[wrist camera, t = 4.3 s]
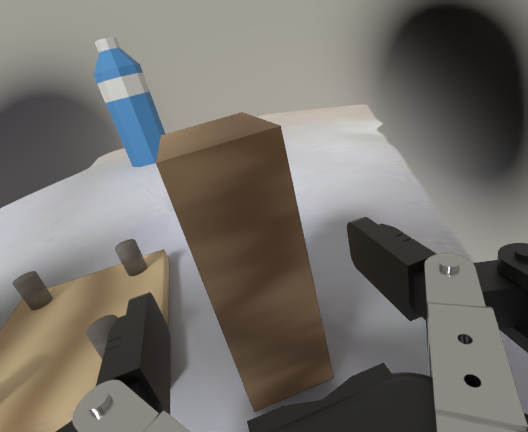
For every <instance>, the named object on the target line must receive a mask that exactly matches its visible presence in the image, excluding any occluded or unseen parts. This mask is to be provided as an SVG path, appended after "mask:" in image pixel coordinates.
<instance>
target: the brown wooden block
mask: <svg viewBox="0 0 528 432" xmlns="http://www.w3.org/2000/svg"><path fill="white" fill-rule="evenodd" d="M156 164H157V167H158V169H159V172H160V174H161V177H162V180H163V182H164V185H165V187H166V190H167V192H168V195H169V197H170V200H171V202H172V205H173V207H174V210H175V212H176V215H177V218H178V220H179V223H180V225H181V228H182V230H183V233H184V235H185V238H186V240H187V243H188V245H189V248H190V250H191V253H192V255H193V258H194V261H195V263H196V266H197V268H198V271H199V273H200V276H201V278H202V281H203V283H204V286H205V288H206V291H207V293H208V296H209V299H210V301H211V304H212V306H213V309H214V311H215V314H216V316H217V319H218V321H219V324H220V326H221V329H222V331H223V334H224V336H225V339H226V342H227V344H228V347H229V349H230V352H231V354H232V357H233V359H234V362H235V364H236V367H237V369H238V372H239V374H240V377H241V380H242V382H243V385H244V387H245V390H246V392H247V395H248V397H249V400H250V402H251V405H252V407H253V410H254V412H255V411H258V410H260V409H262V408H265V407H267V406H269V405H272V404H274V403H276V402H279V401H281V400H283V399H285V398H288V397H290V396H292V395H295V394H297V393H299V392H302V391H304V390H306V389H309V388H311V387H313V386H315V385H318V384H320V383H322V382H325V381H327V380H329V379H332V378H334V377H333V372H332V367H331V363H330V358H329V353H328V348H327V344H326V339H325V334H324V329H323V325H322V320H321V315H320V310H319V306H318V301H317V296H316V291H315V287H314V282H313V277H312V272H311V268H310V263H309V258H308V253H307V249H306V244H305V239H304V234H303V230H302V225H301V220H300V215H299V211H298V206H297V201H296V196H295V192H294V187H293V182H292V177H291V173H290V168H289V163H288V158H287V154H286V149H285V144H284V140H283V135H282V130H281V126H280V125H277V124H274V123H271V122H268V121H266V120H263V119H260V118H257V117H254V116H251V115H249V114H246V113H238V114H235V115H231V116H228V117H224V118H221V119H217V120H214V121H210V122H207V123H203V124H200V125H196V126H193V127H189V128H186V129H182V130H179V131H175V132H172V133H168V134H165V135H161V138H160V144H159V149H158V154H157V160H156Z"/></svg>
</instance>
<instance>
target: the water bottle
mask: <svg viewBox="0 0 528 432" xmlns="http://www.w3.org/2000/svg"><path fill="white" fill-rule="evenodd" d="M95 44H96V47H97V49H98V52H99V55H98V60H97V64H96V68H95V72H94V77H95V79H96V82H97V84H98V86H99V88H100V91H101V93H102V96H103V98H104V100H105V103H106V105H107V107H108V110H109V112H110V114H111V116H112V119H113V121H114V124H115V126H116V128H117V130H118V133H119V135H120V138H121V140H122V142H123V145H124V147H125V149H126V152H127V154H128V156H129V159H130V161H131V164H132V166H138V167H140V166H144V165H148V164H152V163H156V160H157V154H158V149H159V144H160V138H161V135H165V132H164V129H163V127H162V124H161V121H160V119H159V116H158V113H157V110H156V107H155V105H154V102H153V100H152V97H151V94H150V91H149V88H148V86H147V83H146V80H145V78H144V75H143V72H142V69H141V67H140V64H139V63H137V62H136V61H135V60H134V59H132V58H131V57H130V56H129V55H127V54H126V53H125V52H124V51H123V50H121V49H120V47H119V44H118V42H117V39H116V38H114V37H111V38H104V39H101V40H97V41H96V42H95Z"/></svg>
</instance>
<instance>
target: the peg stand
mask: <svg viewBox="0 0 528 432" xmlns="http://www.w3.org/2000/svg"><path fill="white" fill-rule="evenodd" d="M115 250H116V252H117V254H118V256H119V258H120V260H121V262H122V264H119V265H116V266H113V267H110V268H107V269H104V270H101V271H98V272H95V273H92V274H89V275H87V276H84V277H81V278H78V279H75V280H72V281H69V282H66V283H63V284H60V285H57V286H54V287H51V288H48V289H47V288H46V286H45V285H44V283H43V282H42V280H41V279H40V277H39V276H38V274H37V273H36V272H35V271H32V272H28V273H26V274H24V275H22V276H20V277H18V278H17V279H16V280H14V282H13V285H14V287H15V288H16V289H17V291H18V292H19V294H20V295H21V296H22V298H23V299H22V300H21V302H20V303H19V305H18V306H17V307H16V309H15V310H14V312H13V313H12V315H11V316H10V318H9V319H8V320H7V322H6V323H5V325H4V326H3V328H2V329H1V330H0V432H55V431H57V430H58V429H60V428H61V427H63V426H64V425H66V424H67V423H69V422H70V421H71V420H72V417H73V413H74V411H75V408H76V407H77V405H78V403H79V402H80V401H81V399H82V398H83V397H84V396H85V395H86V394H87V393H88V392H89V391H90V390H92V389H93V388H94V387H95V386H96V383H97V379H98V375H99V371H100V367H101V363H102V359H103V355H104V353H105V347H106V343H107V339H108V335H109V331H110V329H111V327H112V326H113V324H114V323H115V322H116V320H117V319H118V318H119V317H121V316H124V315H126V311H127V306H128V301H129V299H131V298H134V297H137V296H140V295H143V294H146V293H149V292H150V293H152V295H153V296H154V298H155V300H156V303H157V305H158V307H159V309H160V311H161V313H162V315H163V317H164V319H165V321H166V323H167V326H168V329H169V259H168V257H167V254H166V252H165V250H161V251H158V252H155V253H152V254H149V255H146V256H142V254H141V252H140V250H139V248H138V246H137V243H136V241H135V240H134V239H130V240H126V241H124V242H121V243H120V244H118V245H117V246H116V247H115Z"/></svg>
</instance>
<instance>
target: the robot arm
mask: <svg viewBox="0 0 528 432" xmlns="http://www.w3.org/2000/svg"><path fill="white" fill-rule="evenodd" d="M347 232H348V239H349V246H350V254H351V258H352V261H353V263H354V265H355V267H356V268H357V269H358V270H359V271H360V272H361V273H362V274H363V275H364V276H365V277H366V278H367V279H368V280H369V281H370V282H371V283H372V284H373V285H374V286H375V287H376V288H377V289H378V290H379V291H380V292H381V293H382V294H383V295H384V296H385V297H386V298H387V299H388V300H389V301H390V302H391V303H392V304H393V305H394V306H395V307H396V308H397V309H398V310H399V311H400V312H401V313H402V314H403V315H404V316H405V317H406V318H407V319H408V320H409V321H412V320H415V319H417V318H420V317H423V318H424V319H425V320H426V338H427V356H428V375H429V376H426V375H422V374H416V373H405V372H404V373H391V372H390V371H389V369H388V368H387V367H386V365H385V364H384V363H382V364H380V365H377V366H375V367H373V368H370V369H368V370H366V371H363V372H361V373H359V374H356V375H354V376H352V377H350V378H349V379H348V380H347V381H345V382H344V383H343V384H342V385H340V386H339V387H338V388H337V389H335V390H334V391H333V392H332V393H330V394H329V395H328V396H326V397H325V398H324V399H322V400H319V401H313V402H306V403H300V404H294V405H287V406H282V407H280V408H277V409H275V410H273V411H270V412H268V413H266V414H263V415H261V416H259V417H256V418H254V419H252V420H249V421H247V423H248V427H249V431H250V432H528V414H525V413H524V412H523V409H522V406H521V402H520V399H519V396H518V392H517V389H516V385H515V382H514V379H513V375H512V372H511V368H510V365H509V362H508V358H507V355H506V351H505V348H504V345H503V341H502V338H501V334H500V331H502V332H503V333H504V334H505V335H507V336H508V337H509V338H510V339H512V340H513V341H514V342H515V343H516V344H518V345H519V346H520V347H521V348H523V349H524V350H525V351H526V352H528V244H526V243H514V244H508V245H505V246H503V247H501V248H500V249H499V251H498V260H494V261H486V262H480V263H472V262H471V261H470V260H469V259H467V258H465V257H463V256H460V255H456V254H448V253H444V254H436V253H434V252H433V251H431V250H430V249H428V248H426V247H425V246H423V245H422V244H420V243H419V242H417V241H415V240H414V239H411V237H409V236H408V235H406V234H404V233H403V232H401V231H400V230H398V229H396V228H395V227H392V226H388V225H385V224H380V225H378V224H376V223H375V222H373V221H372V220H370V219H369V218H367V217H363V218H360V219H357V220H355V221H352V222H349V223H348V224H347ZM499 330H500V331H499ZM55 432H190V431H189V430H187V429H186V428H185V427H184V426H183V425H181V424H180V423H179V422H178V421H177V420H175V419H174V418H173V417H172V416H171V415H170V333H169V329H168V326H167V323H166V321H165V319H164V317H163V315H162V313H161V311H160V309H159V307H158V305H157V303H156V300H155V298H154V296H153V295H152V293H150V292H149V293H146V294H143V295H140V296H137V297H134V298H131V299H129V301H128V306H127V311H126V315H124V316H121V317H119V318H118V319H117V320H116V322H115V323H114V324H113V326H112V327H111V329H110V331H109V335H108V339H107V343H106V347H105V353H104V355H103V359H102V363H101V367H100V371H99V375H98V379H97V383H96V386H95V387H94V388H93V389H92V390H90V391H89V392H88V393H87V394H86V395H85V396H84V397H83V398H82V399H81V401H80V402H79V403H78V405H77V407H76V408H75V411H74V413H73V417H72V420H71V421H70V422H69V423H67V424H66V425H64V426H63V427H61V428H60V429H58V430H57V431H55Z"/></svg>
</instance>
